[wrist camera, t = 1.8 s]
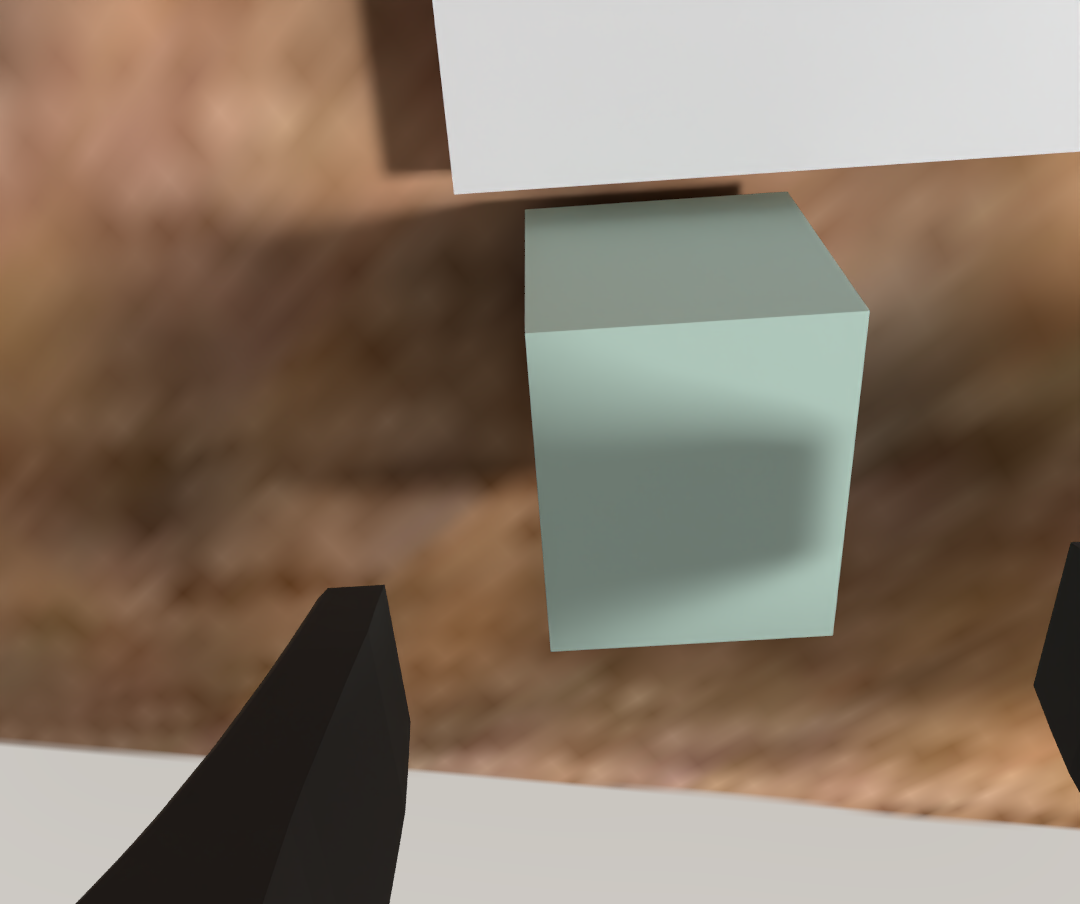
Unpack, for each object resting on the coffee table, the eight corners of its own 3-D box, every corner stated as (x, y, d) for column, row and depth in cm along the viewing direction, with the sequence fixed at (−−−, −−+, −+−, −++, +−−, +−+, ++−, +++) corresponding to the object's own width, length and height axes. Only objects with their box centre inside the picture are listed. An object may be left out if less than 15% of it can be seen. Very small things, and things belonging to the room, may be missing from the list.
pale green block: (763, 448, 19) (832, 635, 14) (545, 462, 19) (550, 651, 15) (779, 179, 16) (870, 310, 12) (525, 197, 16) (524, 333, 12)
